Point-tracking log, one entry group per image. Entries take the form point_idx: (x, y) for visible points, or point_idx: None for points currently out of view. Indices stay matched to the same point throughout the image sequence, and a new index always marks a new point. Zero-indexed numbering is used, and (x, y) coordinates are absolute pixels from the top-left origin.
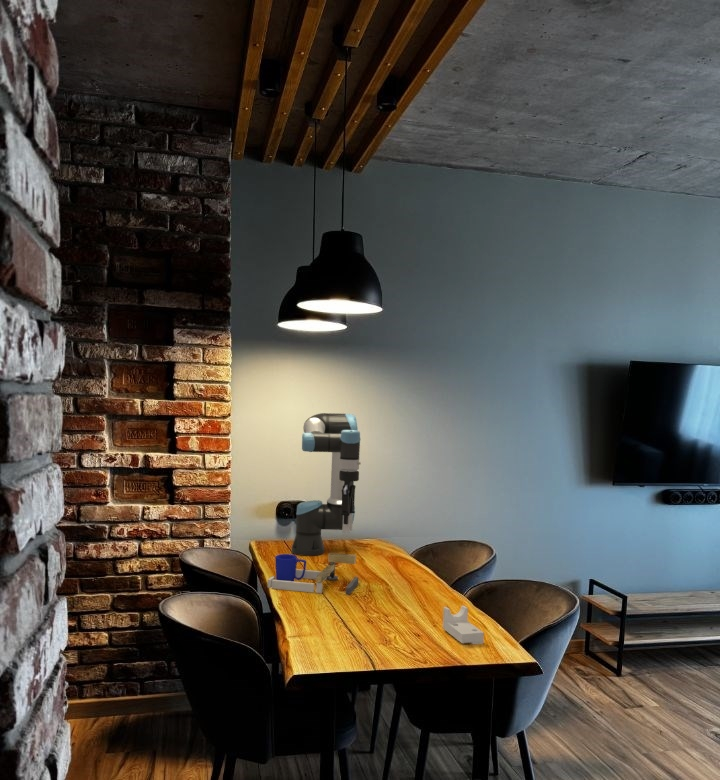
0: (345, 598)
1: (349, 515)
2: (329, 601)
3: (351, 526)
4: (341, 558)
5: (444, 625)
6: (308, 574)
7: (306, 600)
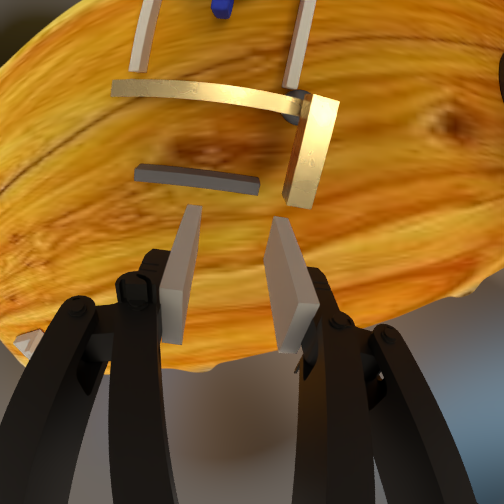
0: (107, 169)
1: (174, 340)
2: (75, 135)
3: (266, 273)
4: (296, 148)
5: (35, 333)
6: (295, 32)
7: (71, 78)
